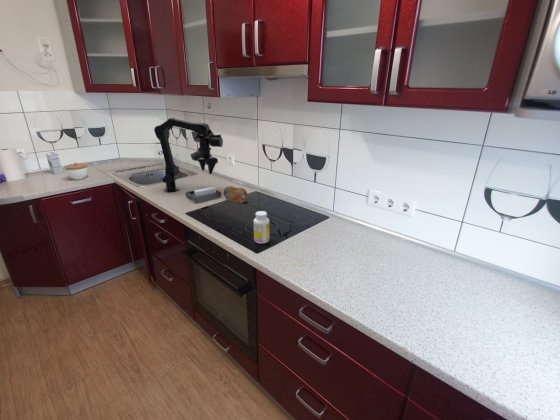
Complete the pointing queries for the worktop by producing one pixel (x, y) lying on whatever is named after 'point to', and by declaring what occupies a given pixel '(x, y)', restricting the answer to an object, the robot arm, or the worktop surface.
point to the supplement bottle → (261, 227)
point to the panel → (204, 191)
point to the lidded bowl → (77, 170)
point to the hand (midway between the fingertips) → (206, 172)
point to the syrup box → (54, 163)
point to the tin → (235, 194)
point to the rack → (203, 198)
